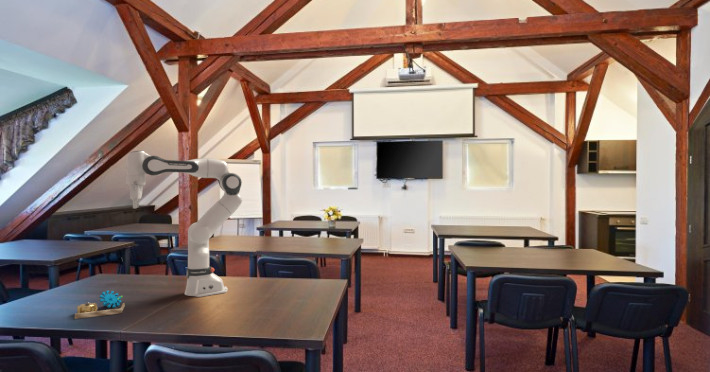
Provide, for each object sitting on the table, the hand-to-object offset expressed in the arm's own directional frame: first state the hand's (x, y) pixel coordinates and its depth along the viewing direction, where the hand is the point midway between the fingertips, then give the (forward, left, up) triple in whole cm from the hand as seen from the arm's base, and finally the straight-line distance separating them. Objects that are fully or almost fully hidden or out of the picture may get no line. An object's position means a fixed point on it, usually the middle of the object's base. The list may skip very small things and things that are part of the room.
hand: (135, 208), depth 195 cm
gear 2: (+9, +8, -48) cm, 50 cm away
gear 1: (+18, +15, -48) cm, 54 cm away
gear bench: (+12, +16, -48) cm, 52 cm away
